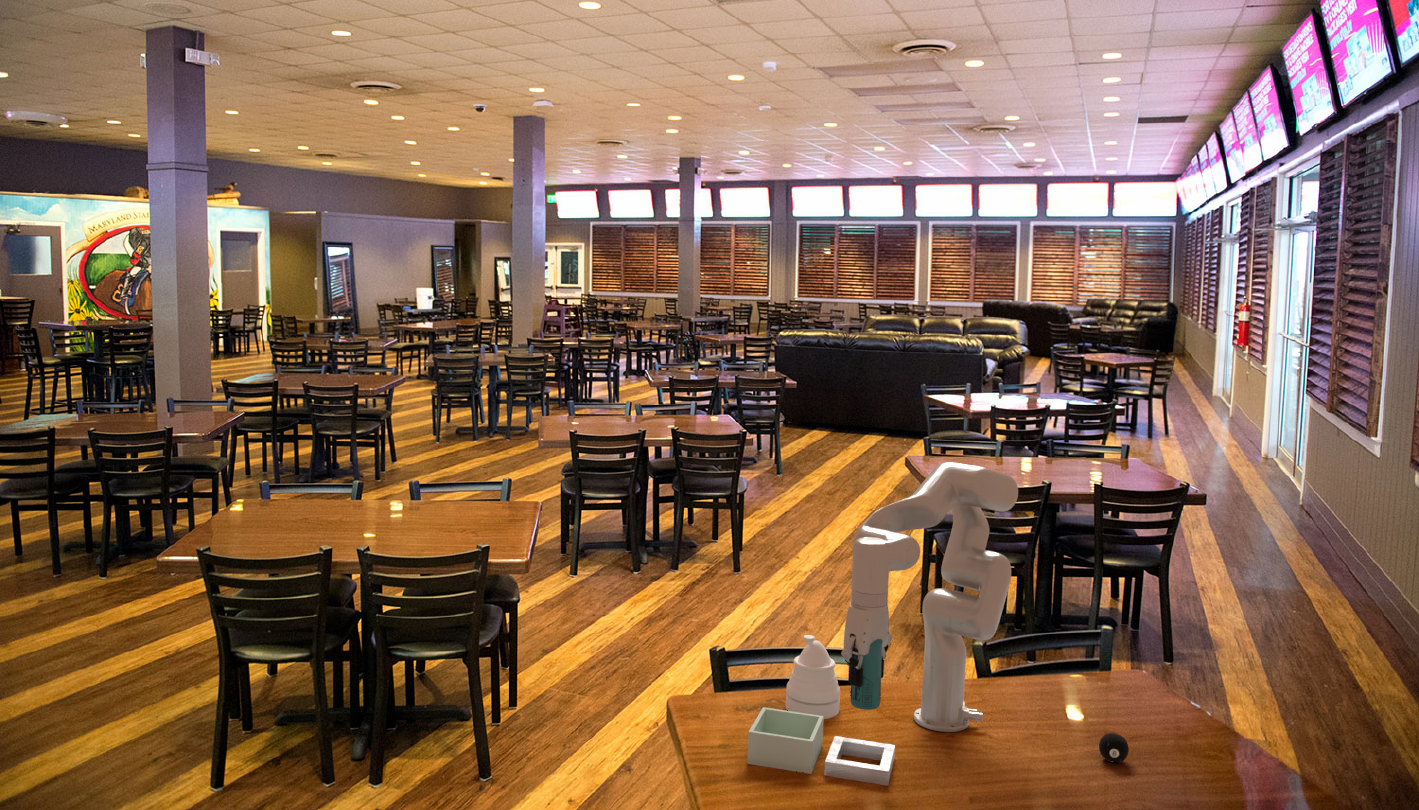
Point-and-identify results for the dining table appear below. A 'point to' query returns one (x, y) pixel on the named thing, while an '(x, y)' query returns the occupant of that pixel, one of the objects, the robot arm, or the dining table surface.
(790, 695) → the honey pot
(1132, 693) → the dining table surface
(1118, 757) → the billiard ball
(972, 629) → the robot arm
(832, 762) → the socket frame
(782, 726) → the bin
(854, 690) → the beverage bottle
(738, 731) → the dining table surface
